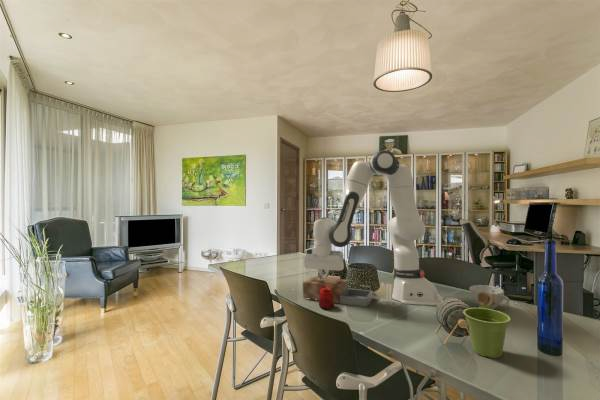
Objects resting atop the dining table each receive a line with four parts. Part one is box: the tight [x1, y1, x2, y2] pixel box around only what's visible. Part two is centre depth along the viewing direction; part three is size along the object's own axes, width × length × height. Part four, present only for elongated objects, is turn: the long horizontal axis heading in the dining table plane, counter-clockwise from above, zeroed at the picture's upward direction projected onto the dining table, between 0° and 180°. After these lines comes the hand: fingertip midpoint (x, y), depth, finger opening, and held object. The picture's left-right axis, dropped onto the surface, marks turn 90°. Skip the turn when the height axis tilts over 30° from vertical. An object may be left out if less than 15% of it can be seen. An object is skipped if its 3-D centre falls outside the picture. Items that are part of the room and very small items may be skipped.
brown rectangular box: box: [302, 276, 349, 304], centre depth 145 cm, size 19×12×8 cm, turn 64°
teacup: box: [469, 284, 510, 310], centre depth 125 cm, size 15×12×8 cm
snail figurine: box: [477, 290, 495, 310], centre depth 112 cm, size 5×6×12 cm
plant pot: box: [462, 307, 511, 359], centre depth 88 cm, size 12×12×11 cm
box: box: [339, 288, 374, 308], centre depth 138 cm, size 12×14×4 cm
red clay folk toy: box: [318, 274, 335, 310], centre depth 131 cm, size 8×7×15 cm
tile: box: [324, 275, 341, 284], centre depth 143 cm, size 6×6×2 cm
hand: (323, 278), depth 146 cm, fingers closed
